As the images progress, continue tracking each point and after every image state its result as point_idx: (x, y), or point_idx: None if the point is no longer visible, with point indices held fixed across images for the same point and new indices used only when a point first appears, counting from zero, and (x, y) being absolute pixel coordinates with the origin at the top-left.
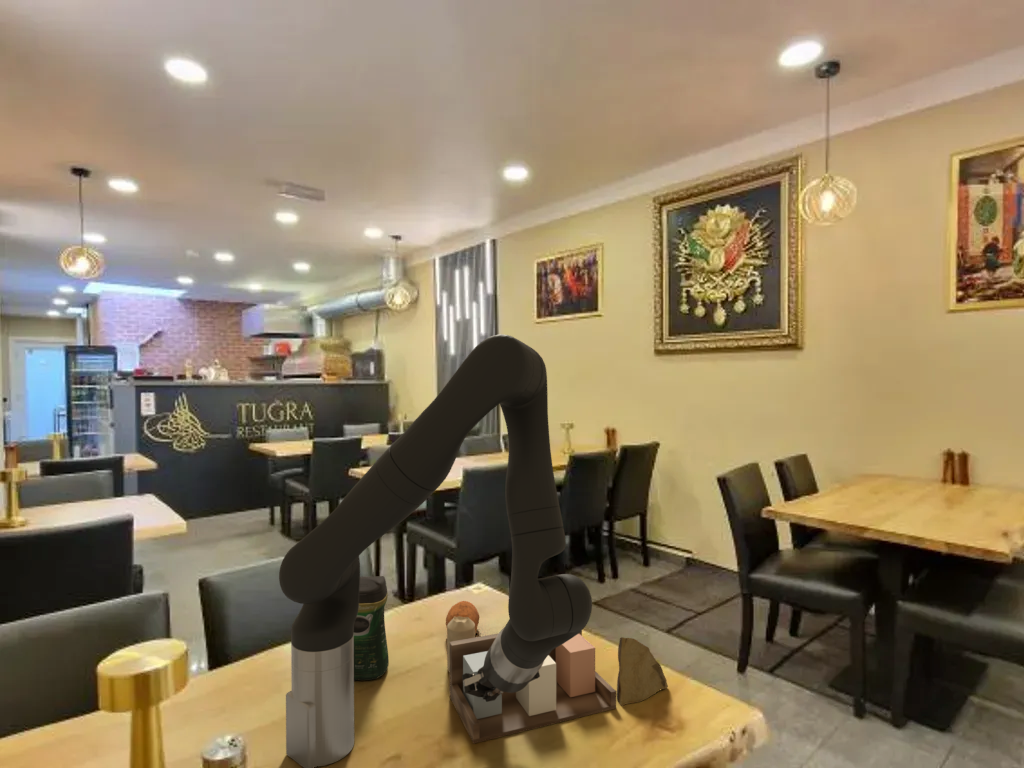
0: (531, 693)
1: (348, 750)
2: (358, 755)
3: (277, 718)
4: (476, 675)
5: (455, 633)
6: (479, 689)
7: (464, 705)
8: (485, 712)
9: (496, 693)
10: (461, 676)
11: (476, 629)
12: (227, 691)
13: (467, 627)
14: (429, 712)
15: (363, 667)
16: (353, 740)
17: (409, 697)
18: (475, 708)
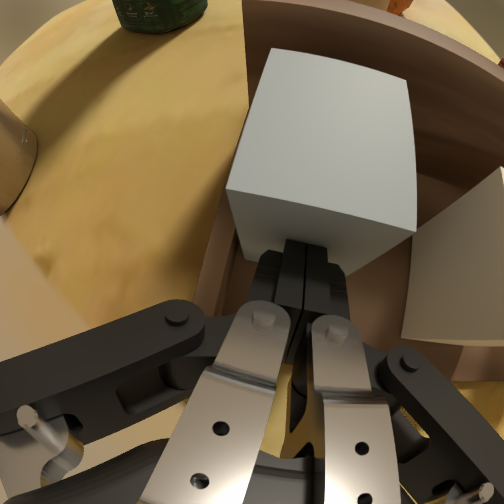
0: (445, 340)
1: (5, 206)
2: (15, 219)
3: (23, 90)
4: (9, 494)
5: None
6: (123, 421)
7: (218, 222)
8: None
9: (291, 361)
10: None
11: (400, 12)
12: (39, 39)
13: None
14: (177, 150)
15: (136, 16)
16: (14, 187)
17: (177, 87)
18: (249, 252)
